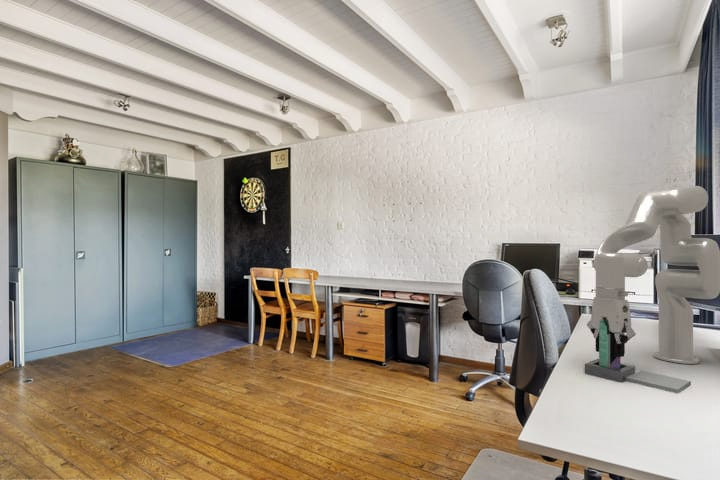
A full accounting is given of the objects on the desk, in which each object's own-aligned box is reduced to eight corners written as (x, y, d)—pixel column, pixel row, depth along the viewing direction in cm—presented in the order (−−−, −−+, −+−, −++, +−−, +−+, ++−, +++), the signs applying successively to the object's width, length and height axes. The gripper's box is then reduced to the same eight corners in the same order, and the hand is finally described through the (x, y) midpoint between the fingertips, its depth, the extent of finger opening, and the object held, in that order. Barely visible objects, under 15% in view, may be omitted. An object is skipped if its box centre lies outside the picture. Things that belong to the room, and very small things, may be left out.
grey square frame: (598, 368, 126) (598, 358, 126) (634, 376, 118) (635, 366, 118) (584, 373, 120) (584, 363, 120) (621, 382, 112) (621, 372, 112)
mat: (641, 373, 121) (641, 370, 121) (690, 384, 112) (690, 381, 112) (625, 380, 114) (625, 377, 114) (677, 393, 105) (677, 389, 105)
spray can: (621, 379, 116) (621, 310, 116) (599, 375, 118) (599, 308, 119) (619, 374, 120) (619, 308, 121) (598, 371, 123) (598, 306, 123)
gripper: (647, 297, 113) (647, 360, 113) (593, 290, 129) (593, 346, 129) (628, 297, 110) (628, 362, 110) (576, 291, 127) (576, 348, 126)
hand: (609, 353), depth 119 cm, fingers closed on spray can, 5 cm apart
